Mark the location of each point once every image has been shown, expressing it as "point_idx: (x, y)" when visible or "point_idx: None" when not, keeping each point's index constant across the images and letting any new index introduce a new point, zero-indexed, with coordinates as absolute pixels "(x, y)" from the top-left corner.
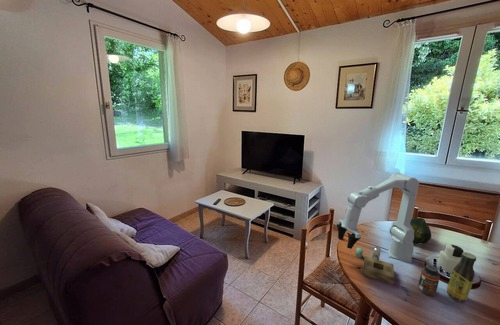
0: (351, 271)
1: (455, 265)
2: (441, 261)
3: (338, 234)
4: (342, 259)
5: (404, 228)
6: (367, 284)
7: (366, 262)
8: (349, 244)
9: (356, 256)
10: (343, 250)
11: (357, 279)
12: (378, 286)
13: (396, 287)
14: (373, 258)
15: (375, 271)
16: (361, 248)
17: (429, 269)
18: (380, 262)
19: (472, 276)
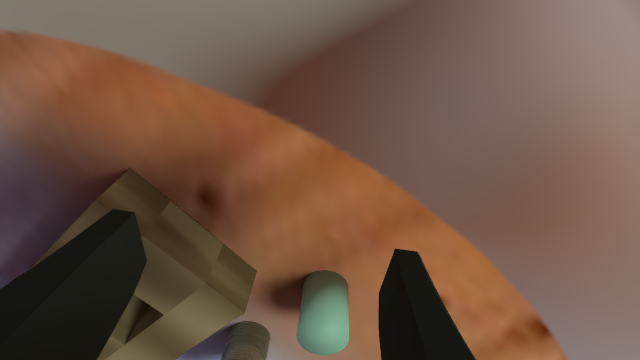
0: (175, 113)
1: None
2: None
3: (435, 316)
4: (333, 150)
5: None
6: (24, 124)
7: (164, 270)
8: (54, 272)
9: (326, 271)
10: (431, 238)
11: (78, 90)
12: (9, 181)
13: (9, 268)
14: (243, 342)
15: (51, 252)
16: (328, 354)
17: None
18: (153, 346)
19: None
